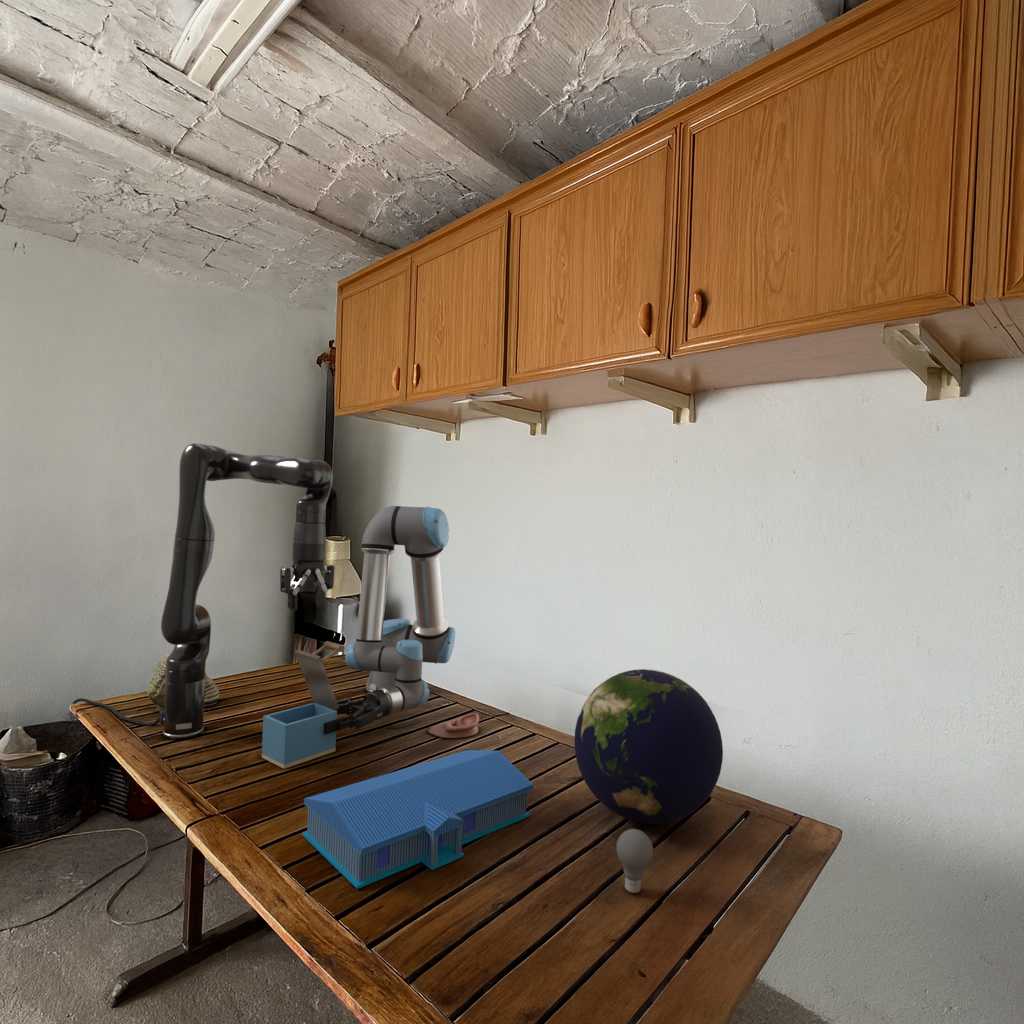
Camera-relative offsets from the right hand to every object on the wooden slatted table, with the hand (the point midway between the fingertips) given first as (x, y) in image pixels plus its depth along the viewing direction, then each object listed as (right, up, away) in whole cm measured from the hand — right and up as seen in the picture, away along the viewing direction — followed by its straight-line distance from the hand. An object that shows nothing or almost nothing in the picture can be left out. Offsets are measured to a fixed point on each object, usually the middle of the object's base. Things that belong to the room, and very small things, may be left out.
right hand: (312, 723), depth 158 cm
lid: (+1, +11, 0) cm, 11 cm away
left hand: (0, +29, -3) cm, 29 cm away
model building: (+33, -9, -35) cm, 49 cm away
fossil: (-46, -4, +27) cm, 54 cm away
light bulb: (+70, -11, -52) cm, 88 cm away
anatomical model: (+34, -8, +17) cm, 38 cm away
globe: (+77, -11, -26) cm, 82 cm away
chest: (-2, -7, -3) cm, 8 cm away
